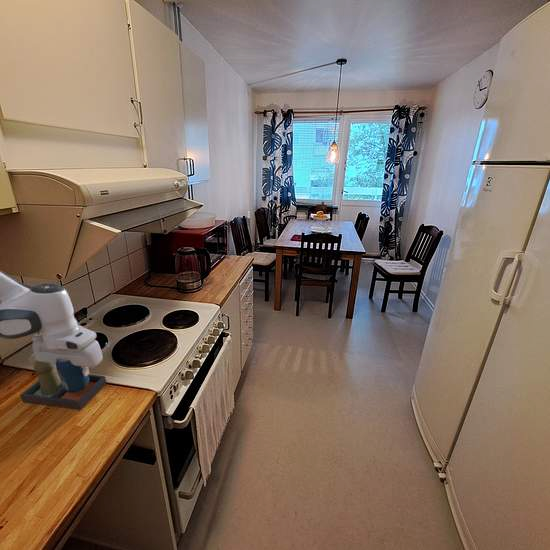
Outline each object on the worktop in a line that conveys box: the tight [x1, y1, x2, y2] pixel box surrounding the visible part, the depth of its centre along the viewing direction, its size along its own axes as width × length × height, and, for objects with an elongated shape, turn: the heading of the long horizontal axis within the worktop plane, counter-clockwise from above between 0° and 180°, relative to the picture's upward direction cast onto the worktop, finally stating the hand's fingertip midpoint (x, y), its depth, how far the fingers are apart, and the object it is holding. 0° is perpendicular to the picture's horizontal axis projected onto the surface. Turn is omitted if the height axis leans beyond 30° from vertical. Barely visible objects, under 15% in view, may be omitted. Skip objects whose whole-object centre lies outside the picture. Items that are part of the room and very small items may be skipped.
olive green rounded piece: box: [33, 361, 62, 396], centre depth 91 cm, size 6×6×11 cm
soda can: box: [56, 359, 89, 393], centre depth 89 cm, size 7×7×12 cm
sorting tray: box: [19, 371, 108, 411], centre depth 92 cm, size 20×12×3 cm, turn 82°
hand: (73, 373), depth 89 cm, fingers closed on soda can, 7 cm apart
